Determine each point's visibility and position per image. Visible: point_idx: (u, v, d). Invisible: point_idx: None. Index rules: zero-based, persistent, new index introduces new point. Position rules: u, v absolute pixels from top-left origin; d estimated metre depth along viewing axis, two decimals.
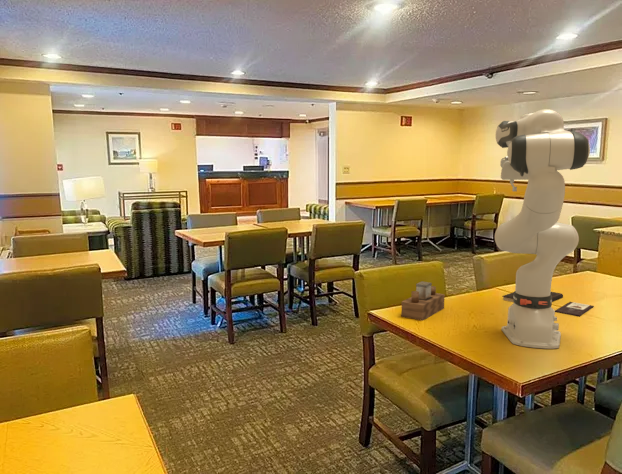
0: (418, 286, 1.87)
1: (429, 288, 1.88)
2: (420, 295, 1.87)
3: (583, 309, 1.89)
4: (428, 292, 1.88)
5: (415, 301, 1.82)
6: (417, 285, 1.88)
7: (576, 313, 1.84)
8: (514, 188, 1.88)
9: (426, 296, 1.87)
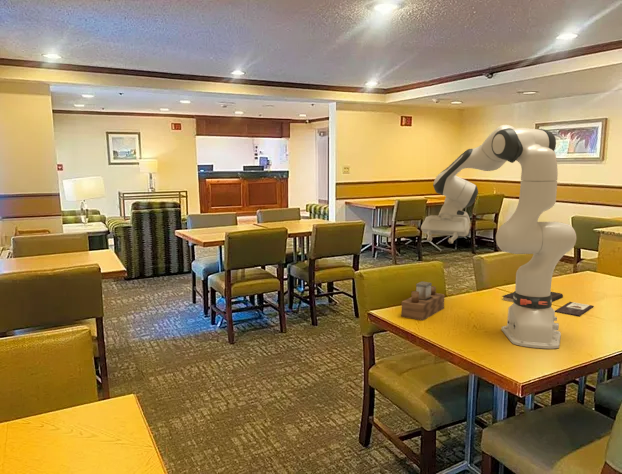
0: (418, 286, 1.87)
1: (429, 288, 1.88)
2: (420, 295, 1.87)
3: (583, 309, 1.89)
4: (428, 292, 1.88)
5: (415, 301, 1.82)
6: (417, 285, 1.88)
7: (576, 313, 1.84)
8: (428, 237, 2.00)
9: (426, 296, 1.87)
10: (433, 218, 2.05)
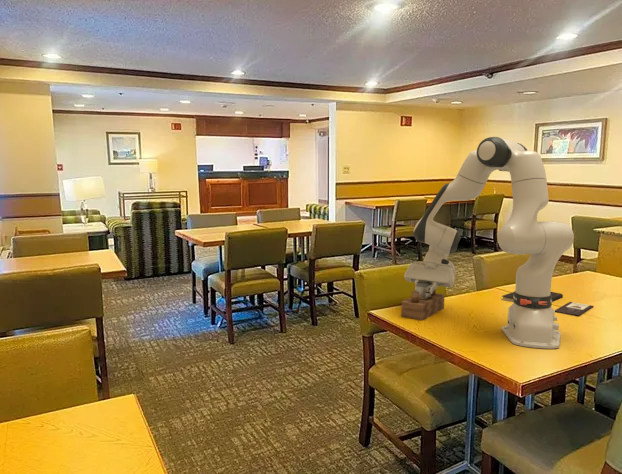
0: (418, 286, 1.87)
1: None
2: (420, 295, 1.87)
3: (583, 309, 1.89)
4: None
5: (415, 301, 1.82)
6: (417, 285, 1.88)
7: (575, 313, 1.84)
8: None
9: (426, 296, 1.87)
10: (417, 266, 1.96)
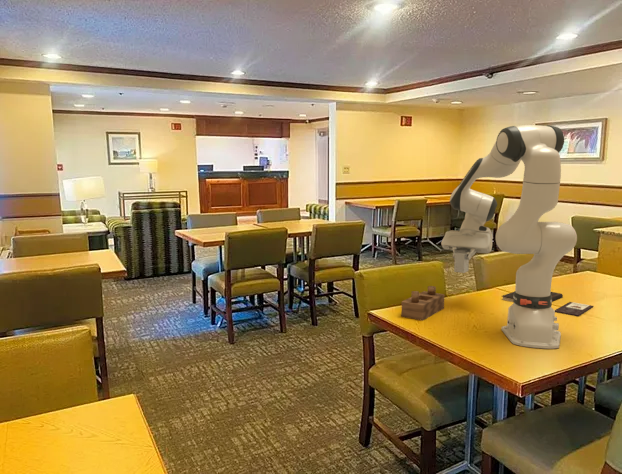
0: (456, 252, 1.91)
1: None
2: (458, 261, 1.91)
3: (582, 309, 1.89)
4: None
5: (415, 301, 1.82)
6: (455, 251, 1.91)
7: (575, 313, 1.84)
8: (454, 253, 1.93)
9: (465, 262, 1.90)
10: (454, 233, 1.99)
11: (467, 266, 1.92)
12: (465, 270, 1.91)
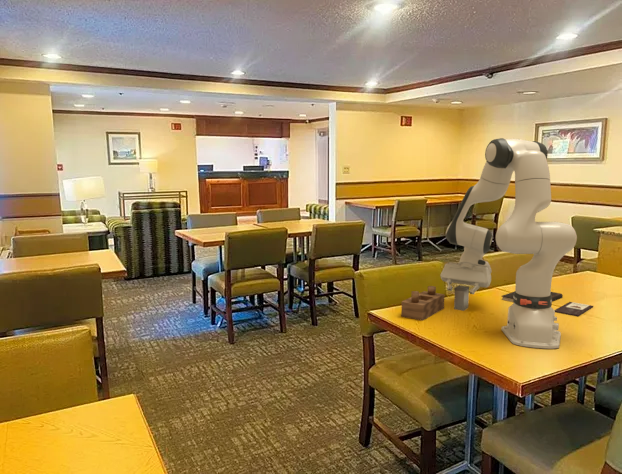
0: (456, 290, 1.92)
1: (467, 292, 1.93)
2: (458, 299, 1.92)
3: (582, 309, 1.89)
4: (466, 296, 1.93)
5: (415, 301, 1.82)
6: (455, 289, 1.93)
7: (575, 313, 1.84)
8: (449, 286, 1.97)
9: (465, 300, 1.92)
10: (453, 266, 2.01)
11: (467, 303, 1.94)
12: (465, 308, 1.93)
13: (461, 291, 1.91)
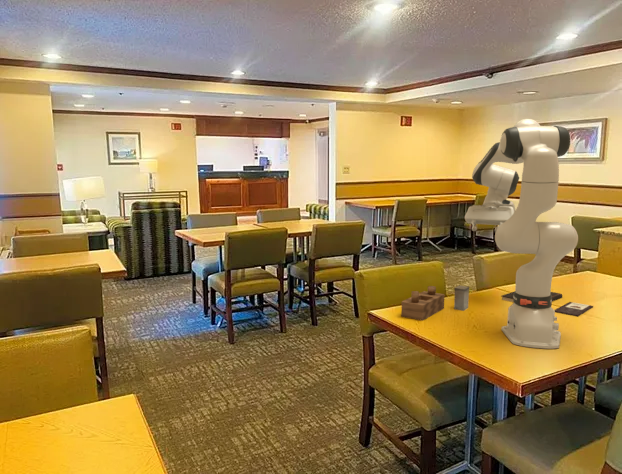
0: (456, 290, 1.92)
1: (467, 292, 1.93)
2: (458, 299, 1.92)
3: (582, 309, 1.89)
4: (466, 296, 1.93)
5: (415, 301, 1.82)
6: (455, 289, 1.93)
7: (575, 313, 1.84)
8: (473, 226, 2.00)
9: (465, 300, 1.92)
10: (477, 208, 2.04)
11: (467, 303, 1.94)
12: (465, 308, 1.93)
13: (461, 291, 1.91)
